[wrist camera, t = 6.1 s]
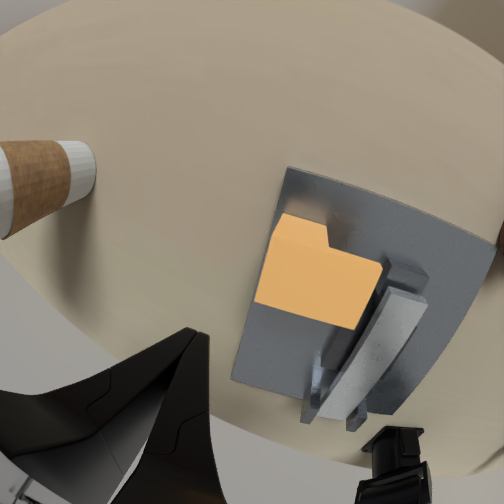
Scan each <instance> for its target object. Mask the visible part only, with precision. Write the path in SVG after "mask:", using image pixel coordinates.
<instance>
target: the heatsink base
mask: <svg viewBox="0 0 504 504" xmlns="http://www.w3.org/2000/svg"><path fill="white" fill-rule="evenodd" d="M283 213H285V214H289V215H292V216H295V217H299V218H302V219H306V220H309V221H312V222H316V223H319V224H322V225H325V226H326V227H327V235H328V244H329V247H330V248H333V249H337V250H340V251H343V252H346V253H350V254H353V255H356V256H359V257H362V258H365V259H369V260H372V261H375V262H378V263H380V264H381V266H382V268H383V270H382V272H381V275H380V277H379V279H378V282H377V284H376V286H375V288H374V290H373V293H372V295H371V297H370V299H369V301H368V303H367V305H366V307H365V309H364V311H363V313H362V315H361V317H360V319H359V321H358V323H357V325H356V327H355V329H354V330H352V329H348V328H344V327H341V326H337V325H333V324H330V323H326V322H322V321H319V320H315V319H312V318H308V317H305V316H301V315H298V314H294V313H291V312H287V311H284V310H281V309H277V308H274V307H271V306H268V305H264V304H261V303H258V302H255V301H254V299H255V296H256V292H257V288H258V285H259V281H260V277H261V274H262V270H263V266H264V262H265V259H266V255H267V251H268V248H269V244H270V240H271V236H272V234H273V232H274V230H275V228H276V226H277V224H278V222H279V220H280V218H281V216H282V214H283ZM497 249H498V248H497V247H496V246H494V245H493V244H492V243H490V242H489V241H487V240H485V239H483V238H481V237H479V236H477V235H475V234H473V233H470V232H468V231H466V230H464V229H462V228H460V227H458V226H456V225H453V224H451V223H449V222H447V221H444V220H442V219H440V218H438V217H435V216H433V215H431V214H428V213H426V212H423V211H421V210H419V209H416V208H414V207H411V206H409V205H406V204H404V203H401V202H398V201H396V200H393V199H390V198H388V197H385V196H382V195H380V194H377V193H374V192H371V191H368V190H365V189H363V188H360V187H357V186H354V185H351V184H348V183H345V182H341V181H338V180H335V179H332V178H329V177H325V176H322V175H319V174H315V173H312V172H309V171H305V170H302V169H298V168H294V167H291V166H289V167H287V170H286V174H285V178H284V182H283V186H282V190H281V194H280V197H279V201H278V205H277V209H276V213H275V217H274V221H273V224H272V228H271V232H270V236H269V240H268V243H267V247H266V251H265V255H264V259H263V262H262V266H261V270H260V274H259V277H258V281H257V285H256V288H255V292H254V296H253V299H252V303H251V307H250V310H249V314H248V318H247V321H246V325H245V329H244V332H243V336H242V340H241V343H240V347H239V350H238V354H237V358H236V361H235V365H234V368H233V372H232V375H231V379H232V380H235V381H238V382H241V383H244V384H248V385H251V386H254V387H258V388H261V389H264V390H268V391H272V392H275V393H279V394H283V395H286V396H290V397H294V398H298V399H303V403H302V410H301V418H300V422H301V423H306V424H310V423H311V421H312V420H313V419H314V417H315V416H316V415H317V413H318V412H319V410H320V400H321V399H322V397H323V396H324V394H325V393H326V391H327V390H328V389H329V387H330V386H331V384H332V383H333V381H334V380H335V378H336V377H337V375H338V374H339V372H340V371H341V369H342V367H343V366H344V364H345V363H346V361H347V360H348V358H349V356H350V355H351V353H352V351H353V350H354V348H355V346H356V345H357V343H358V341H359V340H360V338H361V336H362V335H363V333H364V331H365V329H366V328H367V326H368V324H369V322H370V320H371V318H372V317H373V315H374V313H375V311H376V309H377V307H378V305H379V303H380V301H381V300H382V298H383V296H384V294H385V292H386V290H387V288H388V286H391V287H394V288H397V289H400V290H404V291H407V292H410V293H413V294H417V295H420V296H423V297H425V299H426V301H427V303H428V306H427V308H426V310H425V312H424V313H423V315H422V317H421V318H420V320H419V322H418V323H417V325H416V326H415V328H414V330H413V331H412V333H411V334H410V336H409V337H408V339H407V340H406V342H405V343H404V345H403V346H402V348H401V349H400V351H399V352H398V354H397V355H396V357H395V358H394V359H393V361H392V362H391V364H390V365H389V366H388V368H387V369H386V370H385V372H384V373H383V374H382V376H381V377H380V378H379V380H378V381H377V382H376V384H375V385H374V386H373V387H372V389H371V390H370V391H369V392H368V394H367V395H366V396H365V397H364V398H363V400H362V401H361V402H360V403H359V404H358V405H357V407H356V408H355V409H354V410H353V411H352V412H351V413H350V415H349V416H348V417H347V418H346V431H351V432H355V431H356V430H357V429H358V428H359V427H360V426H361V425H362V424H363V423H364V422H365V421H366V419H367V412H371V413H378V414H386V415H393V414H394V412H395V411H396V410H397V409H398V408H399V407H400V406H401V405H402V404H403V402H404V401H405V400H406V399H407V398H408V397H409V395H410V394H411V393H412V392H413V391H414V389H415V388H416V387H417V386H418V384H419V383H420V382H421V381H422V379H423V378H424V377H425V375H426V374H427V373H428V371H429V370H430V369H431V367H432V366H433V365H434V363H435V362H436V361H437V359H438V358H439V356H440V355H441V353H442V352H443V350H444V349H445V348H446V346H447V345H448V343H449V341H450V340H451V338H452V337H453V335H454V334H455V332H456V330H457V329H458V327H459V325H460V324H461V322H462V320H463V319H464V317H465V315H466V314H467V312H468V310H469V308H470V306H471V305H472V303H473V301H474V299H475V297H476V295H477V293H478V291H479V289H480V287H481V285H482V283H483V281H484V279H485V277H486V275H487V273H488V270H489V268H490V266H491V264H492V261H493V259H494V257H495V254H496V252H497Z"/></svg>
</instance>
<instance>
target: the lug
mask: <svg viewBox="0 0 504 504" xmlns="http://www.w3.org/2000/svg"><path fill="white" fill-rule="evenodd" d="M382 270H383V268H382V266H381V264H380V263H378V262H375V261H372V260H369V259H365V258H362V257H359V256H356V255H353V254H350V253H346V252H343V251H340V250H337V249H333V248H330V247H329V244H328V235H327V227H326V226H325V225H322V224H319V223H316V222H312V221H309V220H306V219H302V218H299V217H295V216H292V215H289V214H285V213H283V214H282V216H281V218H280V220H279V222H278V224H277V226H276V228H275V230H274V232H273V234H272V236H271V240H270V244H269V248H268V251H267V255H266V259H265V262H264V266H263V270H262V274H261V277H260V281H259V285H258V288H257V292H256V296H255V299H254V301H255V302H258V303H261V304H264V305H268V306H271V307H274V308H277V309H281V310H284V311H287V312H291V313H294V314H298V315H301V316H305V317H308V318H312V319H315V320H319V321H322V322H326V323H330V324H333V325H337V326H341V327H344V328H348V329H352V330H354V329H355V327H356V325H357V323H358V321H359V319H360V317H361V315H362V313H363V311H364V309H365V307H366V305H367V303H368V301H369V299H370V297H371V295H372V293H373V290H374V288H375V286H376V284H377V282H378V279H379V277H380V275H381V272H382Z"/></svg>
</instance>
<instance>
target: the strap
mask: <svg viewBox="0 0 504 504" xmlns="http://www.w3.org/2000/svg"><path fill="white" fill-rule="evenodd" d="M427 306H428V303H427V301H426V299H425V297H423V296H420V295H417V294H413V293H410V292H407V291H404V290H400V289H397V288H394V287H391V286H388V288H387V290H386V292H385V294H384V296H383V298H382V300H381V301H380V303H379V305H378V307H377V309H376V311H375V313H374V315H373V317H372V318H371V320H370V322H369V324H368V326H367V328H366V329H365V331H364V333H363V335H362V336H361V338H360V340H359V341H358V343H357V345H356V346H355V348H354V350H353V351H352V353H351V355H350V356H349V358H348V360H347V361H346V363H345V364H344V366H343V367H342V369H341V371H340V372H339V374H338V375H337V377H336V378H335V380H334V381H333V383H332V384H331V386H330V387H329V389H328V390H327V391H326V393H325V394H324V396H323V397H322V399H321V400H320V410H319V412H318V413H317V415H316V416H320V417H325V418H331V419H336V420H342V421H344V420H345V419H346V418H347V417H348V416H349V415H350V413H351V412H352V411H353V410H354V409H355V408H356V407H357V405H358V404H359V403H360V402H361V401H362V400H363V398H364V397H365V396H366V395H367V394H368V392H369V391H370V390H371V389H372V387H373V386H374V385H375V384H376V382H377V381H378V380H379V378H380V377H381V376H382V374H383V373H384V372H385V370H386V369H387V368H388V366H389V365H390V364H391V362H392V361H393V359H394V358H395V357H396V355H397V354H398V352H399V351H400V349H401V348H402V346H403V345H404V343H405V342H406V340H407V339H408V337H409V336H410V334H411V333H412V331H413V330H414V328H415V326H416V325H417V323H418V322H419V320H420V318H421V317H422V315H423V313H424V312H425V310H426V308H427Z"/></svg>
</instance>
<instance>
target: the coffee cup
mask: <svg viewBox="0 0 504 504" xmlns="http://www.w3.org/2000/svg"><path fill="white" fill-rule="evenodd" d="M95 176H96V164H95V159H94V155H93V153H92V151H91V149H90V148H89V147H88V146H87V145H86V144H85V143H83V142H80V141H2V142H0V239H2V240H4V239H7V238H8V237H10V236H12V235H13V234H15V233H17V232H18V231H20V230H22V229H23V228H25V227H27V226H29V225H30V224H32V223H34V222H36V221H38V220H39V219H41V218H43V217H45V216H47V215H49V214H51V213H53V212H55V211H57V210H58V209H60V208H62V207H64V206H66V205H68V204H71V203H73V202H75V201H77V200H79V199H82V198H83V197H85V196H86V195H88V194H89V192H90V191H91V189H92V187H93V185H94V181H95Z"/></svg>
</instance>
